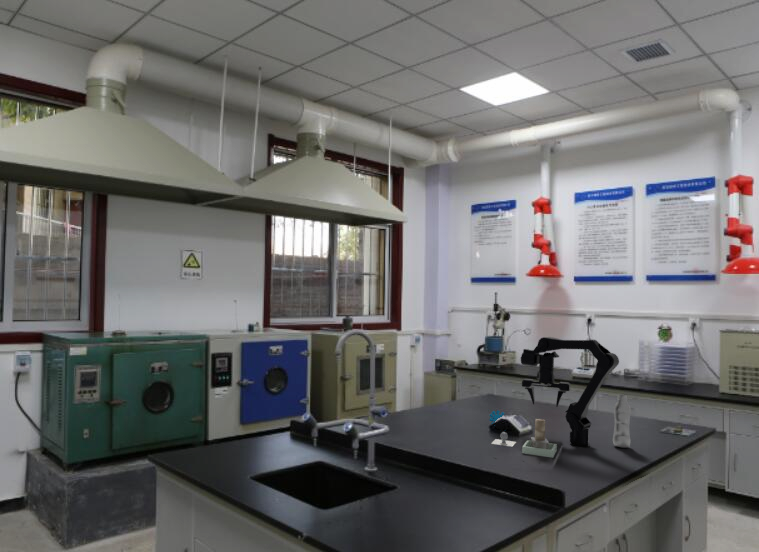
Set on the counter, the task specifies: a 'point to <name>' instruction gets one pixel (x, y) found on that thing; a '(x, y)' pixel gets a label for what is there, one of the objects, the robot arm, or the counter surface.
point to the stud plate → (503, 440)
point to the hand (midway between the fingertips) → (545, 405)
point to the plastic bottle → (622, 422)
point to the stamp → (539, 435)
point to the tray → (539, 450)
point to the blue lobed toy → (495, 416)
